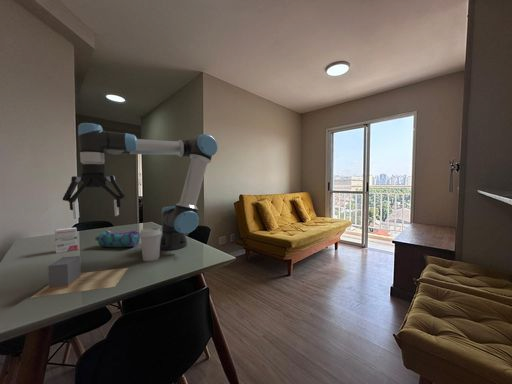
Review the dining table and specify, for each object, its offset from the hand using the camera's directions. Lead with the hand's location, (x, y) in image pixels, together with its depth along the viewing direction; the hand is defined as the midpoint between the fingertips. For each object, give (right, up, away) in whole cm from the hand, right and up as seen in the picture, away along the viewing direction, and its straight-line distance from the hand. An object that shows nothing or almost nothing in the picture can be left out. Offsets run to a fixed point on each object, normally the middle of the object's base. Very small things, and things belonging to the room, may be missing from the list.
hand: (97, 216), depth 83 cm
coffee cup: (+16, -22, +12) cm, 30 cm away
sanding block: (-2, -22, -12) cm, 25 cm away
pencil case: (-14, -22, +34) cm, 43 cm away
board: (+4, -23, -10) cm, 25 cm away
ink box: (-38, -22, +27) cm, 51 cm away
